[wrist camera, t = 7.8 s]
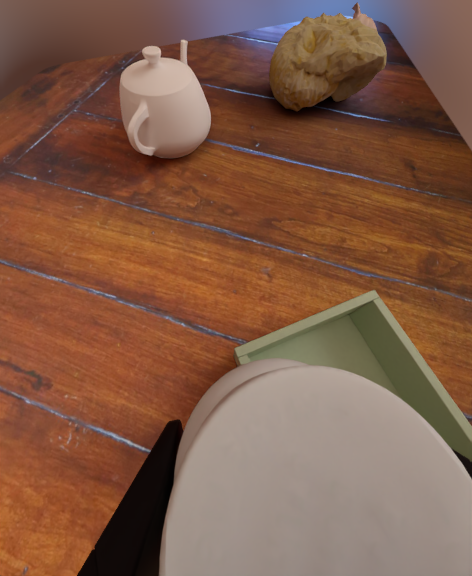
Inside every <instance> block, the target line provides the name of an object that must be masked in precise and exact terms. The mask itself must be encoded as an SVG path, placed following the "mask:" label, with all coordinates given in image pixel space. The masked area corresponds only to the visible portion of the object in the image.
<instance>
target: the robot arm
mask: <svg viewBox="0 0 472 576" xmlns="http://www.w3.org/2000/svg"><path fill="white" fill-rule="evenodd" d="M183 432H184V431H183V428H182V424H181V421H180V420H172V421H169V422H168V423H167V425H166V426H165V428H164V430H163V431H162V433H161V435H160V436H159V438H158V440H157V442H156V443H155V445H154V447H153V448H152V450H151V452H150V453H149V455H148V457H147V458H146V460H145V462H144V464H143V465H142V467H141V469H140V470H139V472H138V474H137V475H136V477H135V479H134V480H133V482H132V484H131V485H130V487H129V489H128V491H127V492H126V494H125V496H124V497H123V499H122V501H121V502H120V504H119V506H118V507H117V509H116V511H115V513H114V514H113V516H112V518H111V519H110V521H109V523H108V524H107V526H106V528H105V529H104V531H103V533H102V534H101V536H100V538H99V540H98V541H97V543H96V545H95V549H93V550H92V551H91V553H90V554H89V556H88V558H87V560H86V561H85V563H84V565H83V566H82V568H81V570H80V571H79V573H78V575H77V576H159V567H160V550H161V541H162V532H163V527H164V522H165V516H166V512H167V508H168V503H169V499H170V495H171V492H172V488H173V485H174V471H175V464H176V457H177V453H178V448H179V444H180V441H181V438H182V435H183ZM451 449H452V448H451ZM452 451H453V452H454V453H455V455H456V456H457V457H458V459H459V460H460V461H461V463H462V464H463V466H464V467H465V469H466V471H467V472H468V474H469V476H470V477H471V479H472V461H470V460H469V459H468V458H466V457H465V456H463V455H462V454H460V453H458V452H457V451H455V450H454V449H452Z"/></svg>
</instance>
